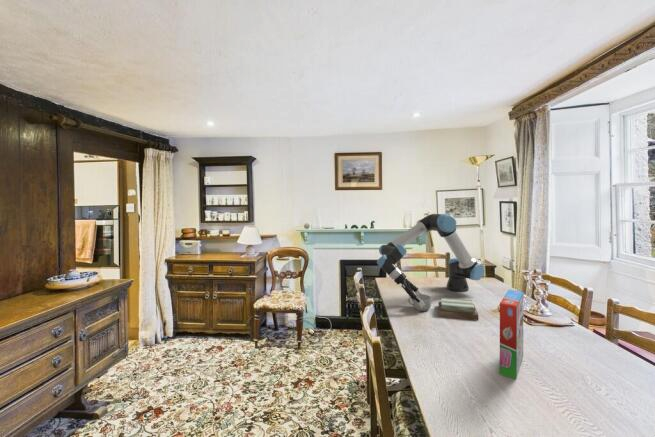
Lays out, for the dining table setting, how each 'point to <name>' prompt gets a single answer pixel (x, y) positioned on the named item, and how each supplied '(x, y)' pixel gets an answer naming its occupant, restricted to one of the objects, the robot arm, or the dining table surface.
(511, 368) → the game box
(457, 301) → the block stand
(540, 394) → the dining table surface
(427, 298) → the teacup
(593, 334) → the dining table surface
